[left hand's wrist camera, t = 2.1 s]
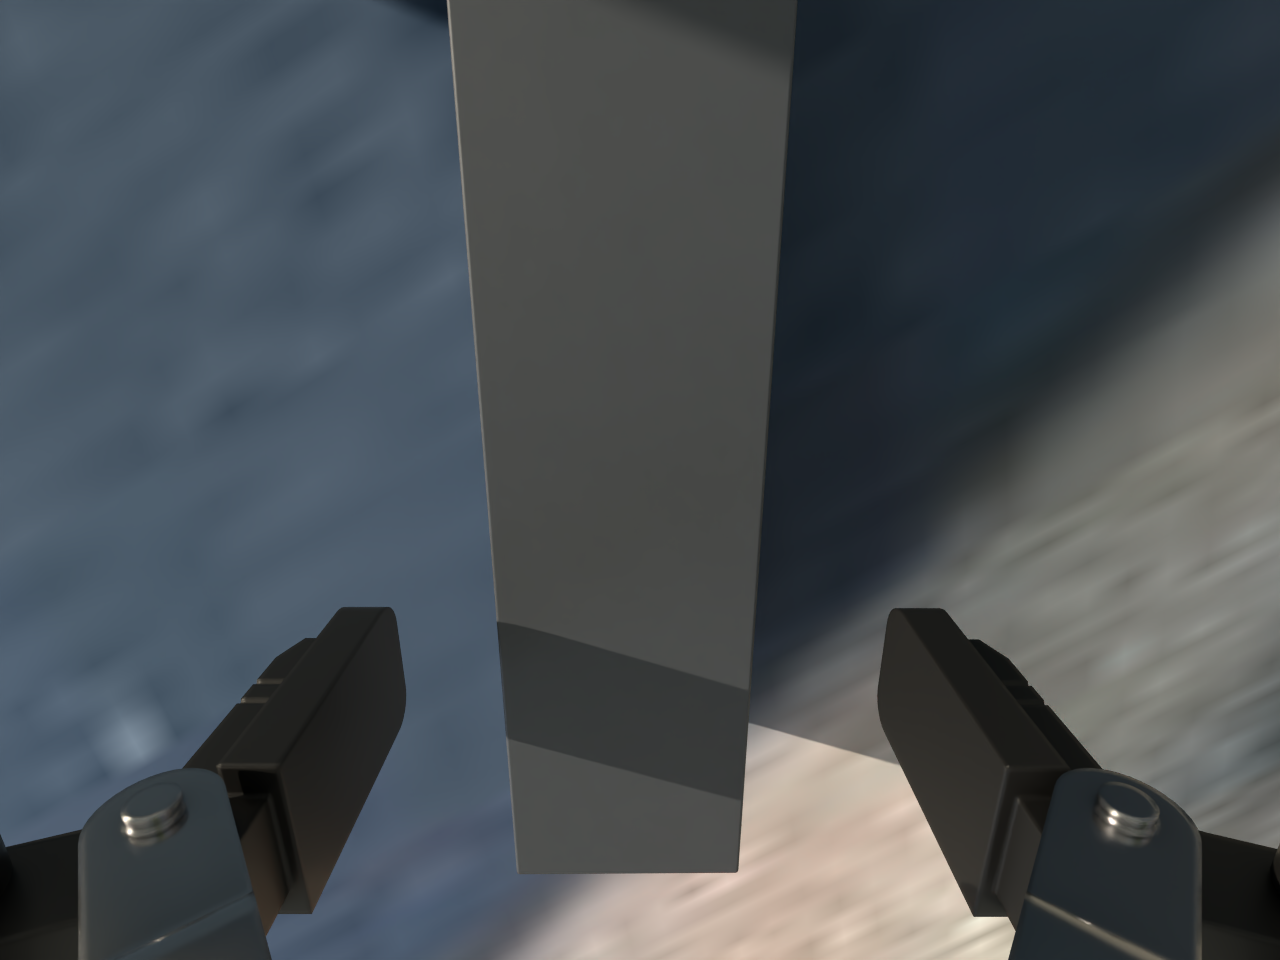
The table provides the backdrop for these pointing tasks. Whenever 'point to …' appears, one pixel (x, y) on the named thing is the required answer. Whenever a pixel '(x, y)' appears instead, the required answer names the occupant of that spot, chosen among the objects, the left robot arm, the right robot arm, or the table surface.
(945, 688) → the left robot arm
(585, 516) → the bar
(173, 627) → the table surface
